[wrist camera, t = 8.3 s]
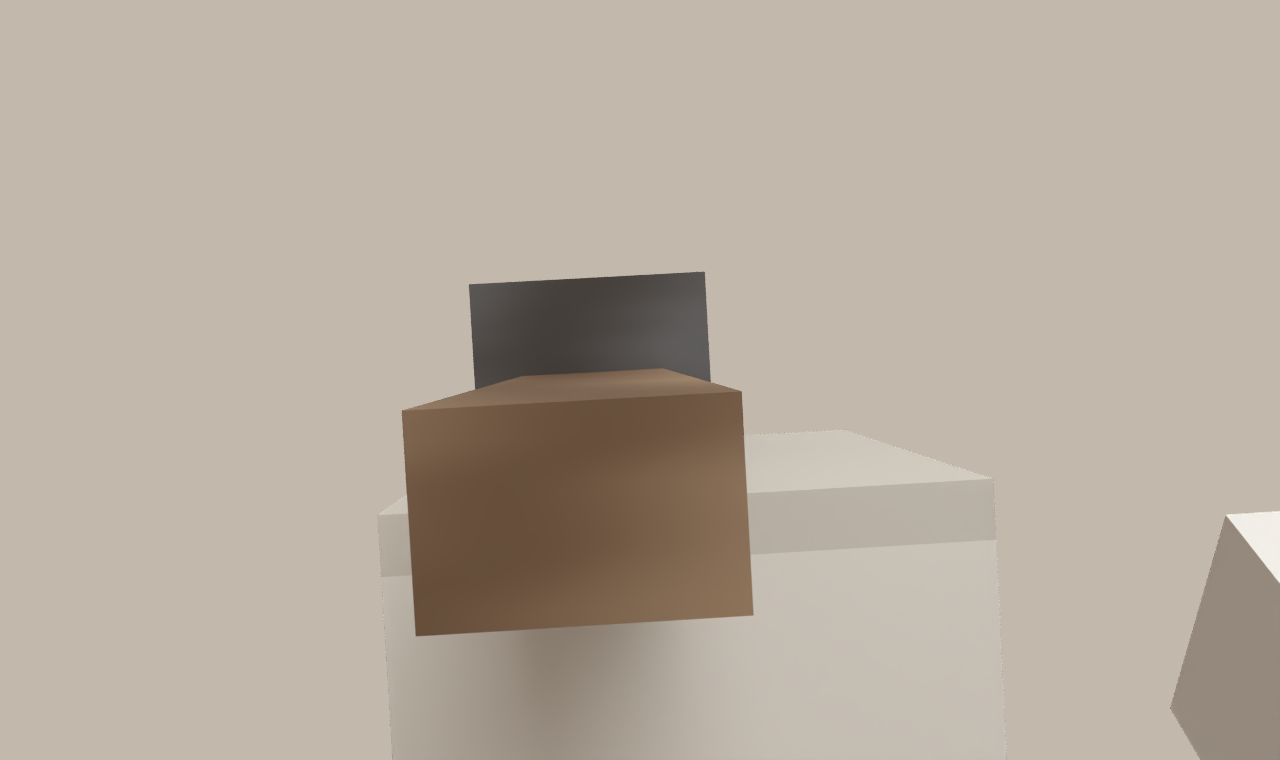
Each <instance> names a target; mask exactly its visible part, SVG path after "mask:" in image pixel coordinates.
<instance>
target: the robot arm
mask: <svg viewBox="0 0 1280 760" xmlns="http://www.w3.org/2000/svg"><path fill="white" fill-rule="evenodd" d="M1170 709H1171V710H1172V712H1173V714H1174V716H1175V717H1176V719H1177V721H1178V722H1179V724H1180V726H1181V728H1182V729H1183V731H1184V733H1185V734H1186V736H1187V738H1188V739H1189V741H1190V743H1191V745H1192V746H1193V748H1194V750H1195V751H1196V753H1197V755H1198V756H1199V758H1200V760H1280V511H1276V512H1261V513H1246V514H1230V515H1226V516H1225V520H1224V523H1223V527H1222V530H1221V533H1220V537H1219V540H1218V544H1217V548H1216V551H1215V554H1214V558H1213V561H1212V565H1211V568H1210V572H1209V575H1208V579H1207V582H1206V586H1205V589H1204V593H1203V596H1202V599H1201V603H1200V606H1199V610H1198V613H1197V617H1196V620H1195V624H1194V627H1193V631H1192V634H1191V638H1190V641H1189V645H1188V648H1187V652H1186V655H1185V659H1184V662H1183V665H1182V669H1181V672H1180V676H1179V679H1178V683H1177V686H1176V690H1175V693H1174V697H1173V700H1172V704H1171V707H1170Z"/></svg>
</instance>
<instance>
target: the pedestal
mask: <svg viewBox="0 0 1280 760" xmlns="http://www.w3.org/2000/svg"><path fill="white" fill-rule="evenodd" d="M744 446H745V465H746V483H747V502H748V521H749V539H750V558H751V576H752V595H753V614H754V615H753V616H737V617H721V618H705V619H689V620H673V621H657V622H641V623H625V624H609V625H593V626H577V627H561V628H544V629H528V630H512V631H496V632H480V633H464V634H448V635H432V636H416V634H415V618H414V602H413V585H412V569H411V553H410V536H409V520H408V504H407V495H405V496H404V497H402V498H401V499H400V500H398V501H397V502H395V503H394V504H393V505H391V506H390V507H388V508H387V509H386V510H384V511H383V512H381V513H380V514H379V515H378V532H379V549H380V563H381V564H380V565H381V581H382V597H383V613H384V629H385V646H386V661H387V677H388V693H389V710H390V726H391V742H392V758H393V760H1007V753H1006V734H1005V733H1006V732H1005V713H1004V693H1003V691H1004V690H1003V670H1002V650H1001V628H1000V608H999V589H998V588H999V587H998V566H997V546H996V527H995V526H996V525H995V507H994V506H995V504H994V483H993V478H990V477H986V476H983V475H981V474H977V473H974V472H971V471H968V470H965V469H962V468H959V467H956V466H953V465H950V464H947V463H944V462H941V461H938V460H935V459H932V458H928V457H926V456H923V455H919V454H916V453H913V452H910V451H907V450H904V449H901V448H898V447H895V446H892V445H889V444H886V443H883V442H880V441H877V440H874V439H871V438H868V437H864V436H861V435H859V434H856V433H852V432H849V431H846V430H830V431H812V432H794V433H778V434H763V435H762V434H760V435H744Z"/></svg>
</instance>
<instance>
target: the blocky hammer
mask: <svg viewBox="0 0 1280 760" xmlns="http://www.w3.org/2000/svg"><path fill="white" fill-rule="evenodd" d="M469 292H470V309H471V326H472V343H473V358H474V359H473V360H474V376H475V390H473V391H469V392H466V393H462V394H458V395H455V396H452V397H448V398H444V399H441V400H438V401H434V402H431V403H427V404H424V405H420V406H417V407H413V408H410V409H406V410H403V411H402V422H403V438H404V454H405V471H406V487H407V504H408V520H409V536H410V553H411V569H412V585H413V602H414V618H415V634H416V636H432V635H448V634H464V633H480V632H496V631H512V630H528V629H544V628H561V627H577V626H593V625H609V624H625V623H641V622H657V621H673V620H689V619H705V618H721V617H737V616H753V615H754V614H753V595H752V576H751V558H750V539H749V521H748V502H747V483H746V465H745V446H744V429H743V409H742V392H741V391H739V390H735V389H732V388H728V387H725V386H721V385H718V384H715V383H711V382H710V381H711V380H710V362H709V343H708V325H707V309H706V288H705V272H692V273H673V274H654V275H637V276H636V275H635V276H619V277H618V276H617V277H598V278H580V279H563V280H544V281H525V282H506V283H488V284H470V285H469Z"/></svg>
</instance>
